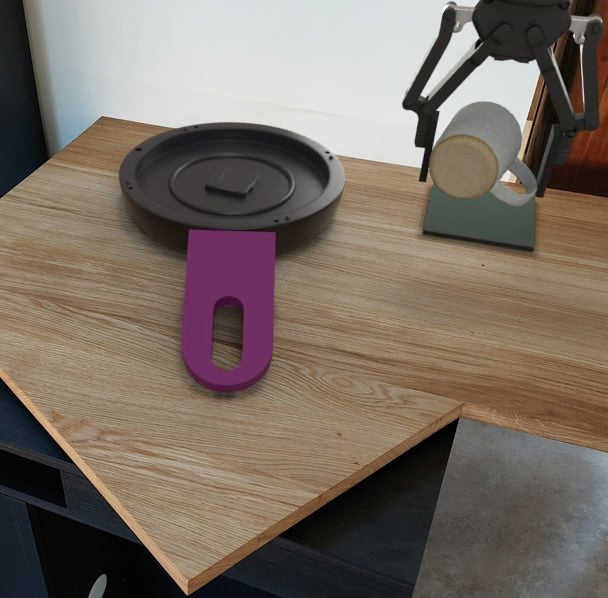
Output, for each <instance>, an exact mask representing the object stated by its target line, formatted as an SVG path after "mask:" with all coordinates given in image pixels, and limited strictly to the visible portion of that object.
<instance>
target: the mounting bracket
mask: <svg viewBox="0 0 608 598" xmlns="http://www.w3.org/2000/svg"><path fill="white" fill-rule="evenodd" d="M275 238H276V232H249V231H217V230H189V237H188V251H187V254H186V268H185V281H184V296H183V311H182V325H181V340H180V344H181V345H180V348H181V353H182V360H183V363H184V366H185V369H186V370H187V372H188V374H189V375H190V376H191V377H192V379H193V380H194V381H195V382H197V383H198V384H199V385H200V386H202V387H204V388H206V389H208V390H210V391H213V392H217V393H226V394H227V393H237V392H241V391H243V390H246V389H248V388H251V387H253V386H254V385H255V384H257V383H258V382H259V381H260V380H261V379H262V378H263V377H264V376H265V374H266V373H267V371H268V370H269V368H270V366H271V363H272V358H273V351H274V334H275V333H274V331H275V329H274V326H275V321H274V320H275V285H276V284H275V283H276V281H275V278H276V255H275ZM225 306H226V307H227V306H233V307H236V308H237V309H238V310H240V312H241V313H242V316H243V324H242V325H243V327H242V329H243V330H242V355H241V356H242V357H241V361H240V363H239V364H238V365H237V366H236V367H233V369H228V370H226V369H221V368H219V367H217V365H215V364H214V362H213V360H212V359H213V343H214V341H213V340H214V339H213V338H214V323H215V321H214V320H215V314H216V312H217V311H218V310H219V309H221V308H223V307H225Z"/></svg>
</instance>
